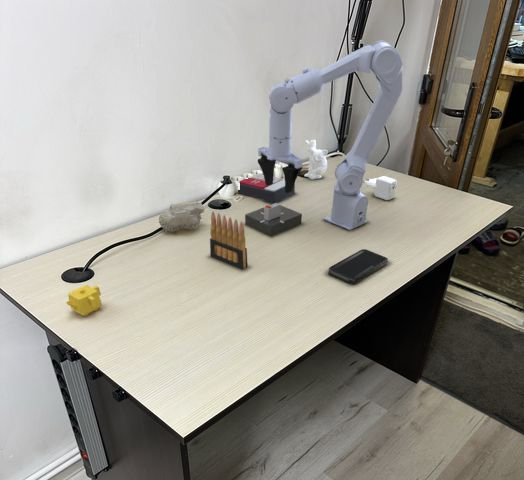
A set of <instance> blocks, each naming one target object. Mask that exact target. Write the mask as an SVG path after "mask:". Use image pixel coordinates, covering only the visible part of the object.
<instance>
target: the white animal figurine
mask: <svg viewBox="0 0 524 480" xmlns="http://www.w3.org/2000/svg"><path fill="white" fill-rule="evenodd" d="M305 144H306V145H307V147H308V153H309V159H308V160H309V161H308V168H307V169H308V171H307V173H305V174H304V177H305V178H309V179H310V180H317V179H321V178H323V176H322V174H325V172H326V171H327V169H328V161H327V158H326V157H327V156H328V152H329V151H328V150H327V149H320V148H317V140H316V139H311V140H310V141H309V140H308V139H306V140H305Z"/></svg>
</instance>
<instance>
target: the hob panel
mask: <svg viewBox="0 0 524 480" xmlns="http://www.w3.org/2000/svg"><path fill="white" fill-rule="evenodd" d="M302 218H303V214H302V213H300V212H298V211H295V210H293V209H291V208H289V207H287V206H284V205H281V211H280V217H277V218H275V219H272V220H270V221H267V220H265V219H264V207H261V208H258V209H256V210H253V211H251V212H248V213H246V214H244V224H245V226H247V227H249V228H252V229H254V230H256V231H257V232H260V233H263V234H264V235H267V236H269V237H270V238H272V237H274V236H277V235H279V234H280V233H284V232H286V231H287V230H290V229H293V228H295V227H297V226H299V225H302Z"/></svg>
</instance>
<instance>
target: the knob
mask: <svg viewBox="0 0 524 480" xmlns="http://www.w3.org/2000/svg"><path fill="white" fill-rule="evenodd" d="M281 206H282V204H280V203H279V202H277V203H274V204H273V203H270V204H269V205H264V207H263V208H264V219H265V220H267V221H270V220H272V219H275V218H277V217H280V211H281Z"/></svg>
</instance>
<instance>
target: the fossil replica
mask: <svg viewBox="0 0 524 480" xmlns="http://www.w3.org/2000/svg"><path fill="white" fill-rule="evenodd" d="M204 212H205V206H204V205H203V203H202V202H199V201H191V202H188V201H187V202H184V201H183V202H179V203H178V202H177V203H171V204H170V206H169V209H166V210H165V211H163V212H162V213H161V214H160V215H159V216H158V224H159V226H160V227H161V228H162V229H163V230H165V231H166V232H168V233H169V232H172V233H174V232H178V231H181V230H182V229H185V230H188V231H189V230H195V229H197V228H198V227H199V226H200V224H201V220H202V216H201V214H203V213H204Z"/></svg>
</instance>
